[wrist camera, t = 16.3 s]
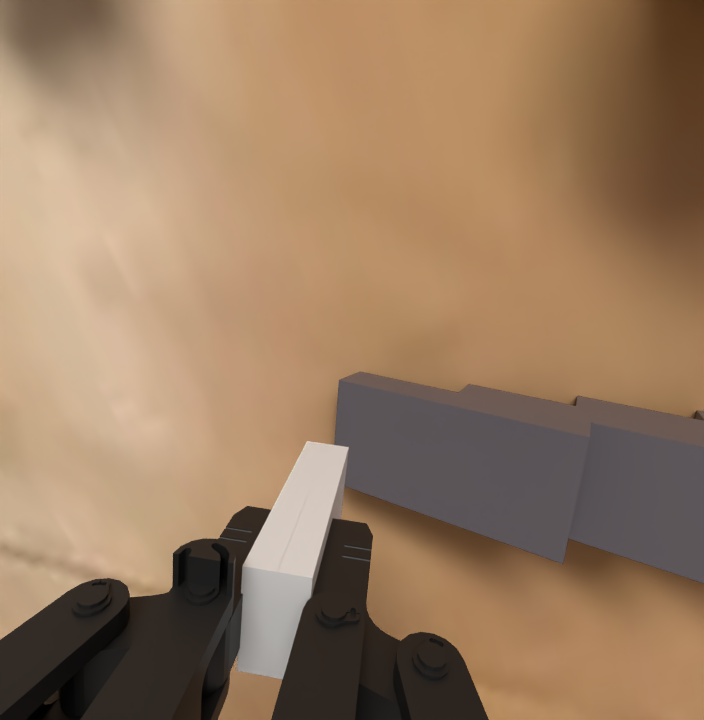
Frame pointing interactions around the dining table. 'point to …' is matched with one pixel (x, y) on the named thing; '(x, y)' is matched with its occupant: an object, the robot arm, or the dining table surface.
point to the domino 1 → (464, 459)
